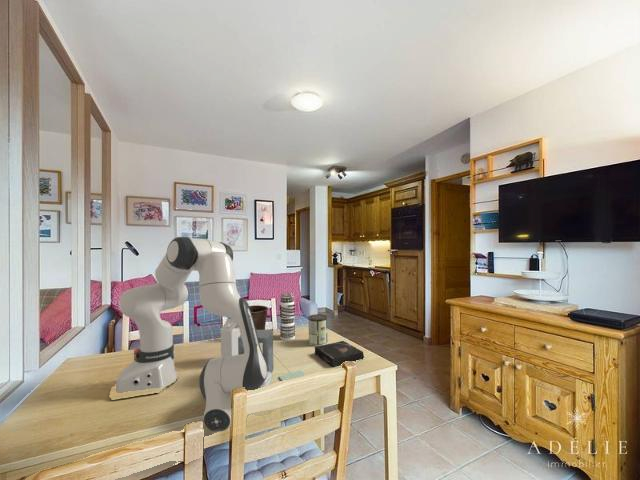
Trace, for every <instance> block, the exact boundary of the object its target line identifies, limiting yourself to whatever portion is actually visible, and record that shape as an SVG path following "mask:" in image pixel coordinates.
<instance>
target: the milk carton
mask: <svg viewBox="0 0 640 480" xmlns="http://www.w3.org/2000/svg"><path fill="white" fill-rule="evenodd" d="M240 335H241V334H240V330H239V326H238V324H237V323H236V322H235V321H234V320H232V319H230V318H226V321H225V323H224V324H223V325H222V326H221V328H220V357H226V356H227V357H228V356H234V355H238V337H239V336H240Z"/></svg>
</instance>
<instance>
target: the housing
mask: <svg viewBox="0 0 640 480" xmlns="http://www.w3.org/2000/svg"><path fill="white" fill-rule="evenodd" d="M256 332H257V336H258V340H259V344H262V354H263V357H264V360H265V363H266V367H267V372H271V373H272V374H273V371H274V330H273V329H265V330H256ZM244 352H245V351H244V347H243V342H242V338H241V335H240V336H239V337H238V355H241V354H244Z"/></svg>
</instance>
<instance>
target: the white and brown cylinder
mask: <svg viewBox="0 0 640 480" xmlns="http://www.w3.org/2000/svg"><path fill="white" fill-rule="evenodd" d="M279 297H280V302H279V306H278V307H279V308H278V310H279V318H280V326H279V330H280V331H279V334H280V335H279V336H280V337H279V338H280V340H283V341H291V340H295V338H296V330H295V329H296V324H295V315H296V314H295V312H296V308H295V307H296V304H295V295H294V294H293V293H291V292H284V293H282V294H281V295H280V296H279Z"/></svg>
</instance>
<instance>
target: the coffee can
mask: <svg viewBox="0 0 640 480" xmlns="http://www.w3.org/2000/svg"><path fill="white" fill-rule="evenodd" d="M308 344H309V345H311V346H314V347H317V346H322V345H326V344H329V343H328V315H326V314H321V313H318V314H316V313H315V314H311V315H308Z"/></svg>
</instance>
